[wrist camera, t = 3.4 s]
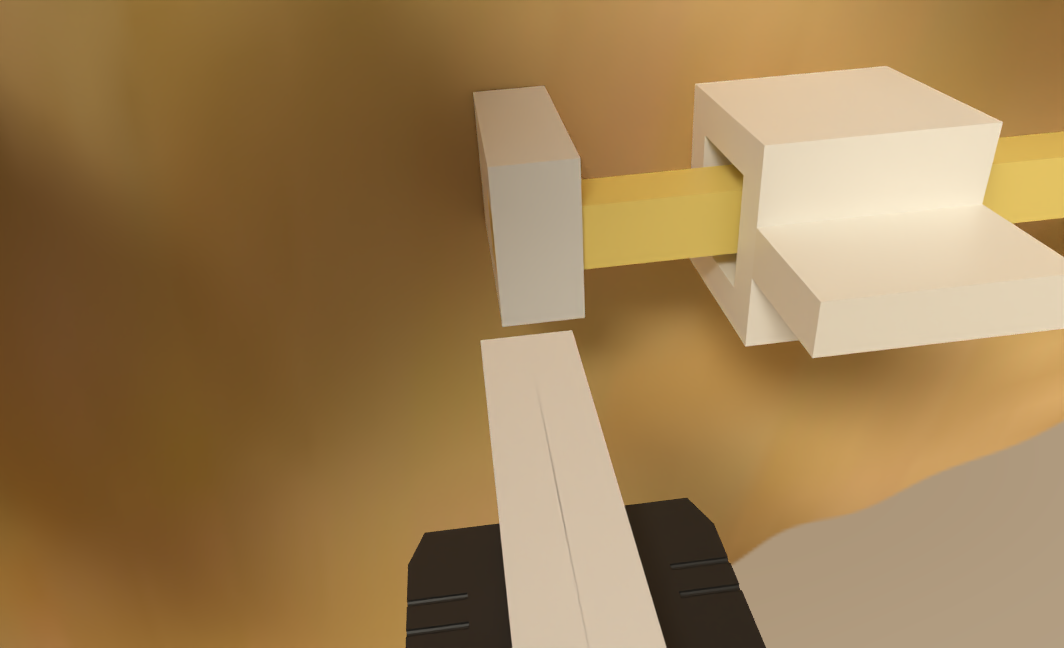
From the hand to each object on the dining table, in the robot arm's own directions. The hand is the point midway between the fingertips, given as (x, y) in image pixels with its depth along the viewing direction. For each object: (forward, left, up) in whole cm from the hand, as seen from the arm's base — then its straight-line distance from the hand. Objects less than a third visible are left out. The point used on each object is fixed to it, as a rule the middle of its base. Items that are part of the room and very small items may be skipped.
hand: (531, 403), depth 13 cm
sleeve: (+8, 0, -9) cm, 12 cm away
